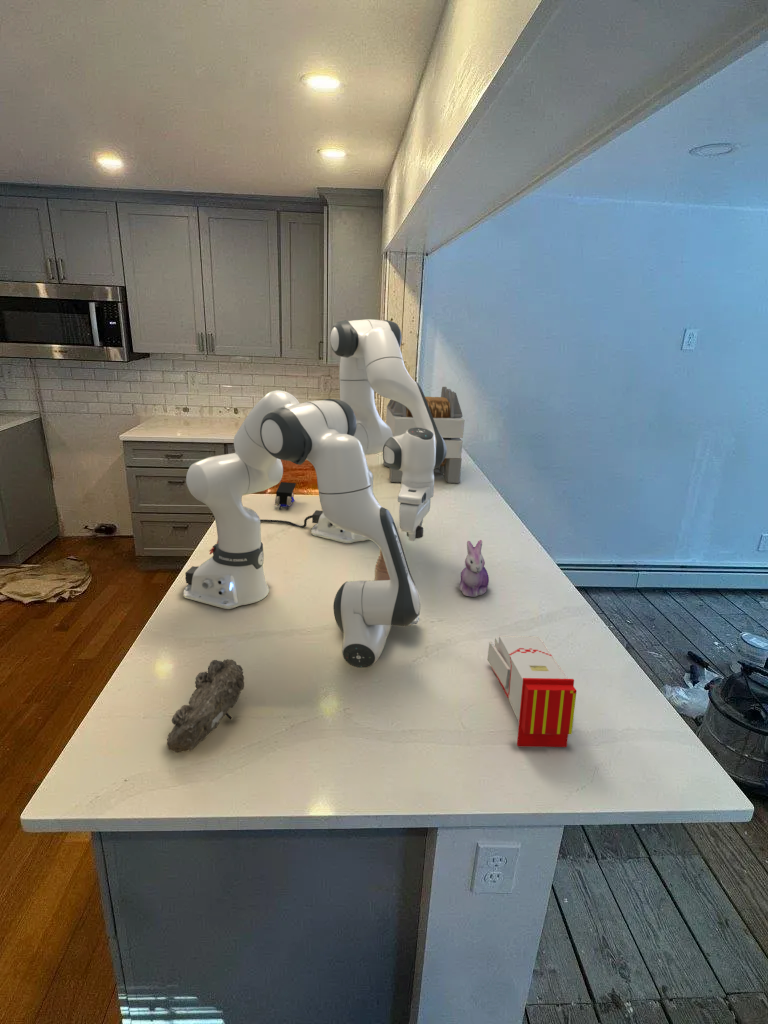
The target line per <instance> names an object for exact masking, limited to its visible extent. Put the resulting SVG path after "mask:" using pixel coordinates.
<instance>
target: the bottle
mask: <svg viewBox="0 0 768 1024" xmlns="http://www.w3.org/2000/svg"><path fill="white" fill-rule="evenodd" d="M373 579H374V580H373V581H378V580H390V577H389V574H388V570H387V567H386V564H385V561H384V558H383V554H382V551H381V549H380V548H379V555H378V558H377V561H376V563H375V566H374V578H373Z"/></svg>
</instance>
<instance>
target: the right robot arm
mask: <svg viewBox="0 0 768 1024" xmlns="http://www.w3.org/2000/svg"><path fill="white" fill-rule="evenodd" d="M401 331H402V330H401V328H400V327H399V325H398V323H396V322H395V321H392V320H388V319H384V320H381V319H373V318H366V319H353V320H346V319H345V320H340V321H337V322H335V323H334V324H333V325H332V327H331V330H330V336H329V341H330V347H331V350H332V352H333V353H334V354H335V355H336V356H337V357H340V358H339V359H340V360H339V368H338V370H339V373H338V374H339V375H338V377H339V379H338V380H339V383H338V384H339V400H341V401H344V402H346V403H347V404H348V405H349V406H350V407H351V408H352V410H353V412H354V414H355V417H356V423H357V426H356V432H355V434H354V437H355V438H357V439H358V440H359V441H360V443H361V445H362V448H363V451H364V454H365V456H370V455H371V456H372V455H378V454H380V453H382V460H383V463H384V462H385V464H386V465H387V466H388V468H389V469H390V468H391V469H393V470H401V471H402V472H403V475H402V482H400V490H399V492H398V494H397V502H398V503H399V506H398V520H399V521H398V523H399V524H398V525H399V529H400V531H401V532H405V533H407V532H408V534H409V537H408V541H411V542H414V541H416V528H417V526H421V527H423V522H424V519H425V517H426V516H427V515H428V514H429V512H430V509H431V499H432V498H434V491H435V473H434V471H435V469H438V468H437V467H439V466H440V465H441V464H442V462H443V461H444V459H445V457H446V454H447V448H446V444H445V442H444V440H443V438H442V436H441V435H440V433H439V431H438V429H437V427H436V424H435V422H434V419H433V416H432V414H431V411H430V409H429V406H428V403H427V401H426V398H425V397H426V396H425V393H424V391H423V388H422V386H421V385H420V384H419V382H417V381H416V380H414V379H413V378H412V376H411V375H410V373H409V372H408V371H409V370H407V368H406V365H405V361H404V357H403V353H402V350H401V345H402V341H403V339H402V338H403V337H402V332H401ZM375 393H376V394H378V396H381V397H382V398H385V399H388V400H391V399H392V400H394V401H397V402H399V403H401V404H403V405H405V406H406V407H407V408H408V409H409V410H410V412H411V414H412V416H413V419H414V422H415V424H416V427H417V428H410V429H408V430H407V431H406V432H405V434H402V435H399V436H394V437H393V435H392V431H391V429H390V427H389V426H388V425H387V423H386V421H384V420H383V419H382V417H381V415H380V414H379V412H378V408H377V405H376V401H375V400H376V399H375ZM387 466H386V467H387ZM369 474H370V480H371V487H372V491H373V492H374V474H373V472H372V471H371V469H369ZM212 518H214V515H212ZM310 519H312V521H311V522H312V524H314V525H313V526H312V528H311V530H310V533H311V536H315V537H319V538H323V539H326V540H330V541H336V542H339V543H343V544H352V543H357V542H365V541H368V540H370V539H368V538H366V537H363V536H361V535H358V534H355V533H351V532H348V531H345V530H342V529H340V528H338V527H336V526H335V525H333V524H332V523H331V522H330V521H329V520H328V519H327V518H326V517H325V515H324V513H323V511H322V510H317V509H316V510H315V511H314V512H313V513H312V514H311V515H308V516H306V517H305V518H304V520H303V524H302V525H298V524H297V523H294V522H292V521H288V520H282V519H260V521H261V523H277V524H279V523H281V524H287V525H290V526H293V527H297V528H301V529H304V528H306V527H307V526H308V525H307V523H308V520H310Z"/></svg>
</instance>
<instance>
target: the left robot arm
mask: <svg viewBox="0 0 768 1024" xmlns="http://www.w3.org/2000/svg"><path fill="white" fill-rule="evenodd" d="M356 426H357V423H356V417H355V414H354V412H353V410H352V408H351V407H350V406H349V405H348V404H347V403H346V402H344V401H341V400H340V399H335V398H324V399H321V400H319V399H318V400H309V401H305V402H300V401H299V399H297V398H296V397H295V396H294V395H293V394H292V393H290V392H288V391H285V390H280V389H279V390H278V389H277V390H271V391H269V392H268V393H267V394H265V395H264V396H263V397H262V398H261V399H259V401H258V402H256V404H255V405H254V406H253V408H252V409H250V411H249V412H248V414H247V416H246V417H245V418H244V420H243V422H242V424H241V425H240V426H239V428H238V430H237V432H236V433H235V434H234V437H233V448H234V452H232V453H226V454H220V455H214V456H209V457H205V458H203V459H201V460H199V461H195V462H194V463H192V464H190V466H189V467H188V470H187V472H186V478H185V482H186V483H185V484H186V487H187V489H188V492H189V493H190V495H191V496H192V497H193V498H194V499H195V500H197V501H198V502H201V503H202V504H204V505H205V506H206V507H207V508H208V509H209V510H210V511H211V513H212V516H214V517H213V518H214V521H215V526H216V533H217V534H216V535H217V540H216V541H217V542H216V543H215V544H214V545H212V548H210V549H209V550H208V552H209V555H212V556H211V557H210V558H208V559H207V560H205V561H204V562H202V563H201V564H200V565H198V566H194V565H192V566H191V567H190V568H189V569H187V571H186V572H185V574H184V575H185V583H186V584H187V585H186V586H185V587H184V590H183V595H182V596H183V598H185V599H187V600H191V601H195V602H198V603H202V604H206V605H210V606H214V607H218V608H221V609H224V610H232V609H236V607H240V606H245V605H246V606H247V605H251V604H255V603H257V602H259V601H261V600H264V599H265V598H266V597H267V596H268V595H269V592H270V587H269V586H268V583H267V580H266V575H265V571H264V560H265V553H264V544H263V542H262V525H261V524H262V522H261V521H260V520H261V518H260V515H258V512H256V511H255V510H254V509H252V508H251V507H250V508H249V507H247V506H244V505H243V501H242V500H243V499H242V498H243V496H247V495H251V494H256V493H260V492H264V491H267V490H268V489H271V488H272V487H275V486H277V485H278V484H280V483H281V482H282V478H283V475H284V466H283V462H282V461H287V462H291V463H292V464H294V465H295V464H296V465H298V466H301V465H303V464H304V463H305V462H306V461H308V462H309V463H310V464H311V465H312V466H313V468H314V472H315V474H316V482H317V490H318V497H319V502H320V507H321V511H323V513H324V515H325V517H326V518H327V519H328V520H329V521H330V522H331V523H332V524H333V525H335V526H336V527H338V528H340V529H342V530H345V531H348V532H351V533H355V534H358V535H361V536H363V537H366V538H368V539H369V540H370V541H372V542H373V543H375V544H376V546H378V548H379V550H380V549H381V551H382V554H383V558H384V561H385V564H386V567H387V570H388V574H389V577H390V580H378V581H374V580H351V581H345V582H344V583H343V584H342V585H341V586H340V587H339V589H338V590H337V592H336V594H335V597H334V600H333V606H332V607H333V615H334V620H335V623H336V626H337V627H338V628H339V630H340V631H341V632H342V634H343V641H342V646H341V647H342V648H341V654H342V657H343V659H344V661H345V662H346V663H347V664H348V665H350V666H352V667H354V668H363V669H365V668H370V667H372V666H373V665H375V663H376V662H377V661H378V660H379V658H380V657H381V655H382V653H383V650H384V649H385V646H386V643H387V638H388V637H389V634H390V632H391V628H392V627H393V626H394V627H404V628H405V627H411V626H413V625H418V623H419V621H420V614H421V605H422V604H421V598H420V594H419V591H418V589H417V586H416V583H415V581H414V579H413V576H412V574H411V571H410V567H409V563H408V560H407V557H406V554H405V551H404V548H403V543H402V540H401V537H400V534H399V531H398V528H397V525H396V523H395V519H394V518H393V515H392V513H391V512H390V510H389V509H387V508H385V507H383V506H382V505H381V504H380V503H379V501H378V500H377V498H376V496H375V495H374V490H373V491H372V487H371V480H370V474H369V470H370V469H369V464H368V461H367V458H366V455H365V454H364V451H363V448H362V445H361V443H360V441H359V440H358V439H357V438H355V437H354V434H355V432H356Z"/></svg>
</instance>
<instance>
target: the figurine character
mask: <svg viewBox="0 0 768 1024" xmlns="http://www.w3.org/2000/svg"><path fill="white" fill-rule="evenodd" d="M296 485H297V483H296V482H286V481H285V482H284V481H280V482H279V486H278V487H277V490H276V491H275V497H274V498H275V499H274V506H278V509H279V510H282V507H285V508H286V510H288V509H289V507H290V506H292V503H294V502H295V499H294V497H295V493H294V490H295V487H296Z"/></svg>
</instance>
